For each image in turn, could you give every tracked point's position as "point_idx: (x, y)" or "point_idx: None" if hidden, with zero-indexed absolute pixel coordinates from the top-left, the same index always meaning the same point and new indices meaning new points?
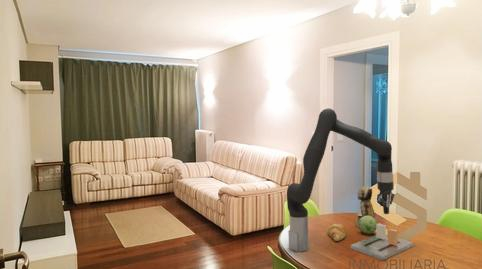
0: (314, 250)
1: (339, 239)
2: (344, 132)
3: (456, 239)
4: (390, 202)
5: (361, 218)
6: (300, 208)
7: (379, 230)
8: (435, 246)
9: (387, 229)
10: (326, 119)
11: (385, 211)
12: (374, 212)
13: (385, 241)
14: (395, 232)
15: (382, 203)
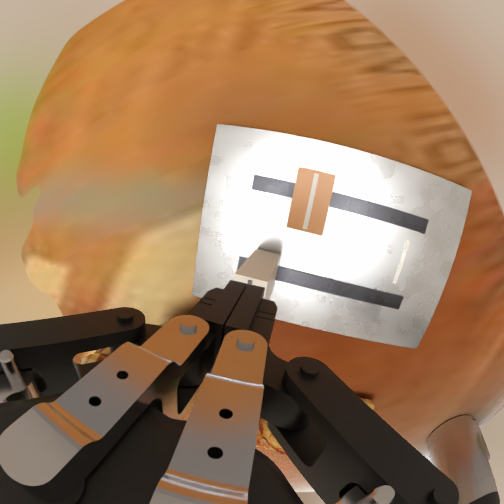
0: (457, 404)
1: (362, 399)
2: None
3: (82, 64)
4: (126, 333)
5: (193, 403)
6: None
7: (268, 293)
8: (173, 65)
9: (321, 235)
10: None
11: (274, 320)
12: (89, 361)
13: (289, 239)
14: (329, 173)
15: (377, 430)
